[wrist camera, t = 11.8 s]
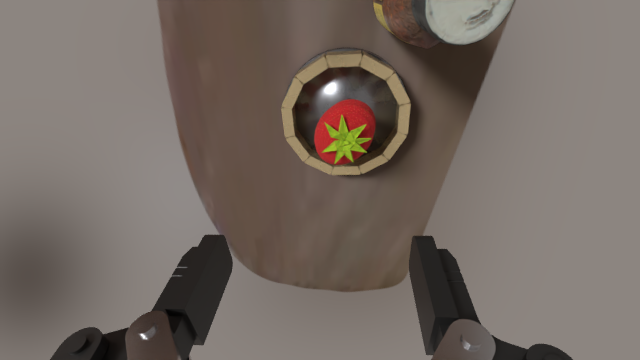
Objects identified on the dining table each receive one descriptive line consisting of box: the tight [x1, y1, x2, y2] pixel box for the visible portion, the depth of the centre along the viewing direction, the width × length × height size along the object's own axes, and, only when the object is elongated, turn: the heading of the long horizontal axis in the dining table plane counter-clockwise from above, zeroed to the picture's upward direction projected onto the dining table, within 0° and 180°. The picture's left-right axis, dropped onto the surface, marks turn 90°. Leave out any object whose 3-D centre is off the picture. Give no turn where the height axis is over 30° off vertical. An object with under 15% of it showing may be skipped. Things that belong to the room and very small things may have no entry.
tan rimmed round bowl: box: [281, 48, 411, 175], centre depth 37 cm, size 15×15×3 cm
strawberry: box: [314, 99, 376, 165], centre depth 33 cm, size 6×8×10 cm
